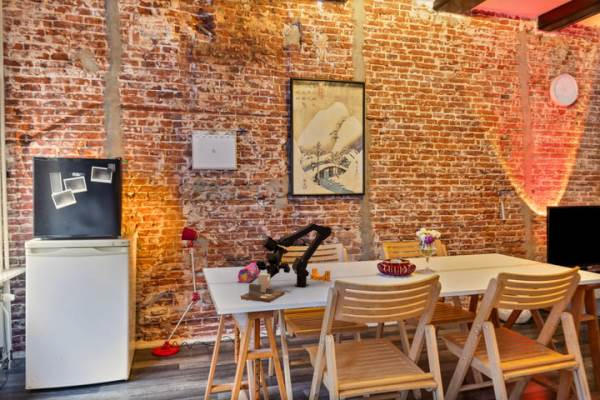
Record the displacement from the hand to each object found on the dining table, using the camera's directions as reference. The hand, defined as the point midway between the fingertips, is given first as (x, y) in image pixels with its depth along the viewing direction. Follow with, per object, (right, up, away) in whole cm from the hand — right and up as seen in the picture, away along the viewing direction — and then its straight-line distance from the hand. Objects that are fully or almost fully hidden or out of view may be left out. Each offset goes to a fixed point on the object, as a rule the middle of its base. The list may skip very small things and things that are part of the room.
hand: (268, 279), depth 230 cm
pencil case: (-14, -6, +33) cm, 36 cm away
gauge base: (-3, -7, -7) cm, 11 cm away
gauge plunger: (0, -5, -5) cm, 7 cm away
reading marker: (+1, -5, -9) cm, 10 cm away
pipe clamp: (+29, -7, +34) cm, 45 cm away
